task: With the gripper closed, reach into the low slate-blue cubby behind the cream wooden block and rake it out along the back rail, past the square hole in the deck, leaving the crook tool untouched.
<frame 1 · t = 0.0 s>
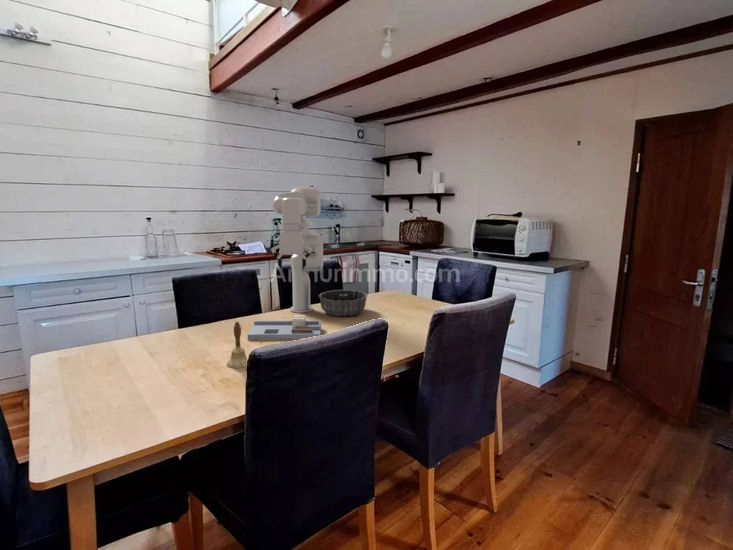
hand: (292, 268, 167), 31 cm above the table, tool pointing down, fingers open, 9 cm apart
hand bell: (238, 364, 144), on the table
cream block: (299, 326, 180), point 2 cm above the table, touching deck
crook tool: (302, 332, 172), point 2 cm above the table, touching deck
bundt pan: (343, 312, 215), on the table
deck: (286, 334, 177), on the table
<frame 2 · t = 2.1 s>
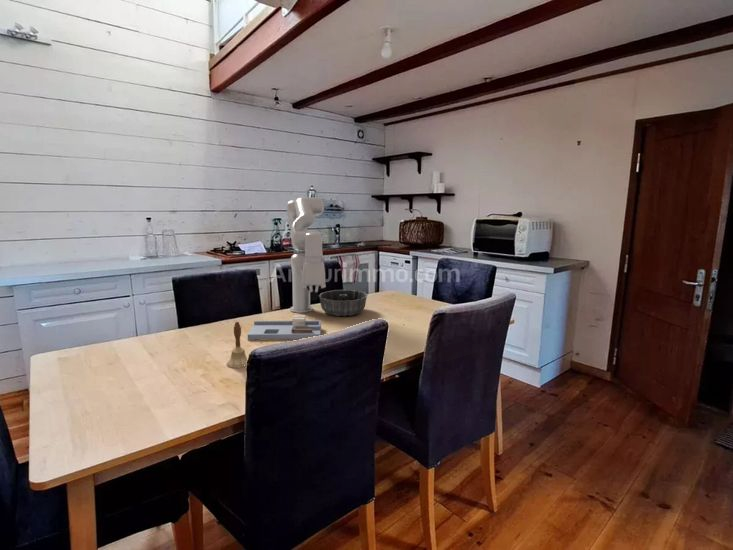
hand: (314, 300, 178), 15 cm above the table, tool pointing down, fingers closed
nothing on the table moved.
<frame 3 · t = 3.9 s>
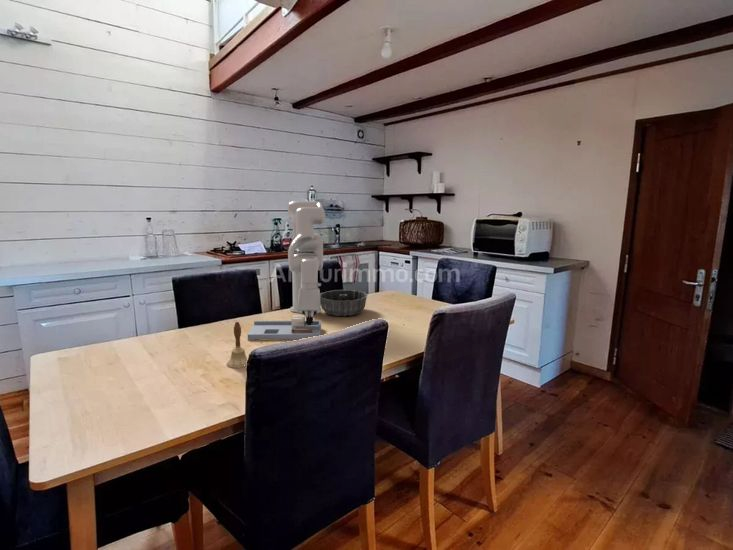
hand: (309, 324, 180), 3 cm above the table, tool pointing down, fingers closed
cream block: (298, 326, 180), point 3 cm above the table, touching deck, gripper
everything else where it was.
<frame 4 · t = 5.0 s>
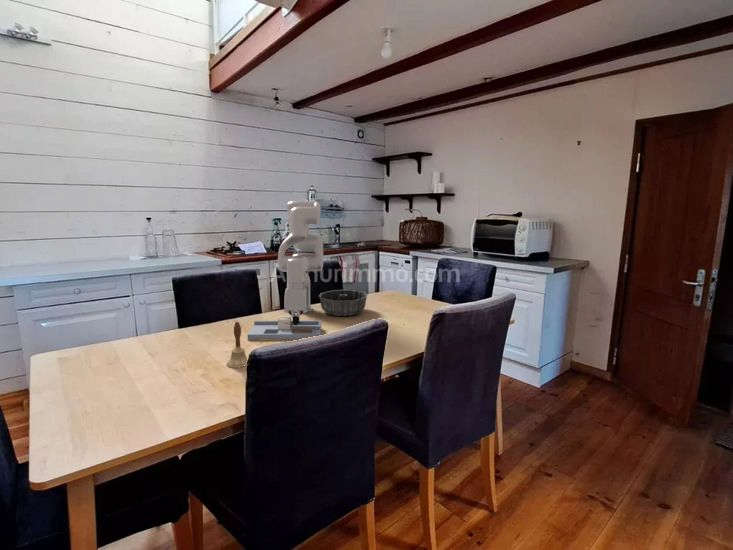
hand: (296, 324, 180), 4 cm above the table, tool pointing down, fingers closed
cream block: (284, 327, 179), point 2 cm above the table, touching deck, gripper
everything else where it was.
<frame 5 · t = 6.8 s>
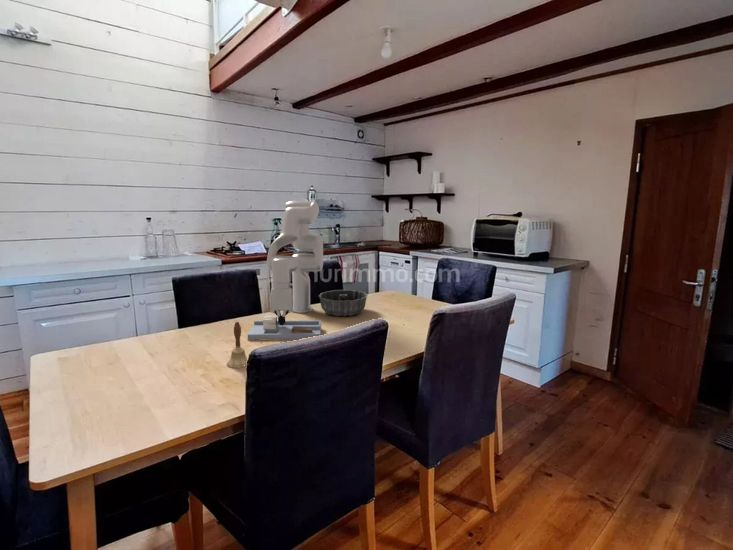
hand: (281, 324, 179), 4 cm above the table, tool pointing down, fingers closed
cream block: (270, 327, 178), point 3 cm above the table, touching deck, gripper
everything else where it was.
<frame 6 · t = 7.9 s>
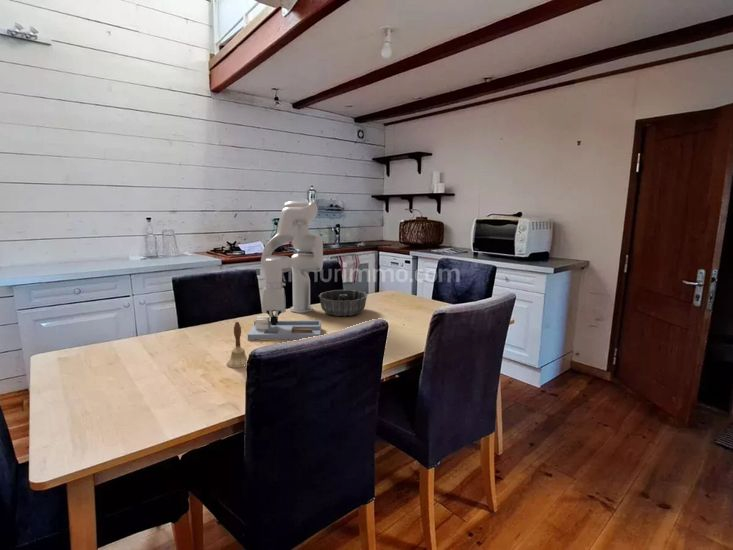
hand: (274, 324, 179), 4 cm above the table, tool pointing down, fingers closed
cream block: (262, 327, 178), point 2 cm above the table, touching deck, gripper
everything else where it was.
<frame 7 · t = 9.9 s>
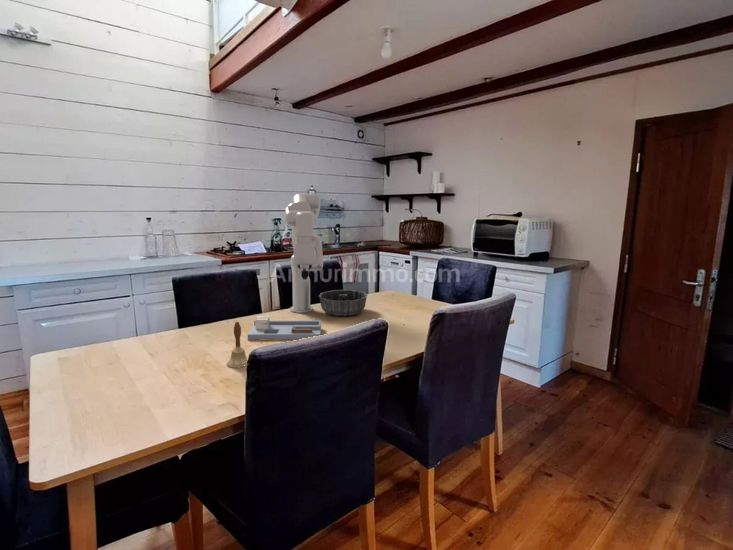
hand: (304, 278, 181), 24 cm above the table, tool pointing down, fingers closed
cream block: (262, 327, 178), point 2 cm above the table, touching deck
everything else where it was.
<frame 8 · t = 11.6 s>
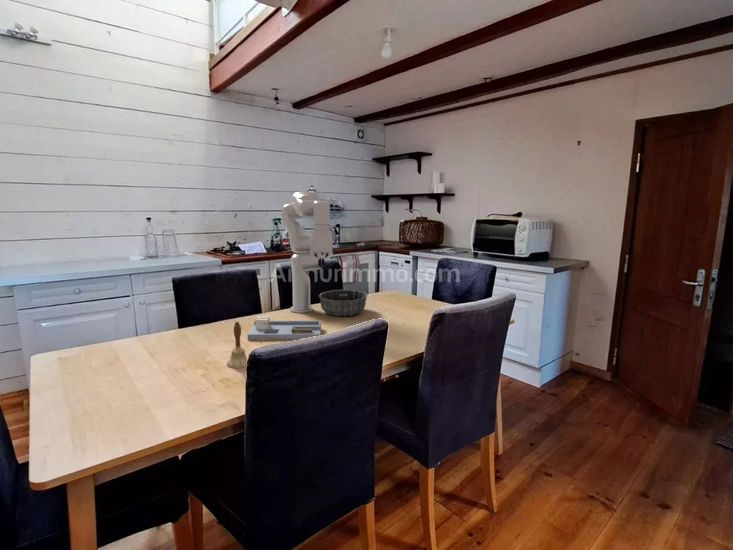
hand: (321, 267, 183), 29 cm above the table, tool pointing down, fingers closed
nothing on the table moved.
at the end: cream block inside the target area (1.5 cm from its centre), point 2.5 cm above the table; cream block tilted 0° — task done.
